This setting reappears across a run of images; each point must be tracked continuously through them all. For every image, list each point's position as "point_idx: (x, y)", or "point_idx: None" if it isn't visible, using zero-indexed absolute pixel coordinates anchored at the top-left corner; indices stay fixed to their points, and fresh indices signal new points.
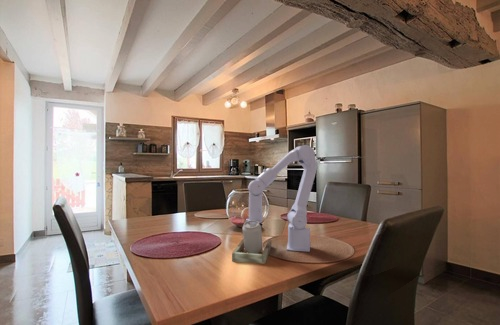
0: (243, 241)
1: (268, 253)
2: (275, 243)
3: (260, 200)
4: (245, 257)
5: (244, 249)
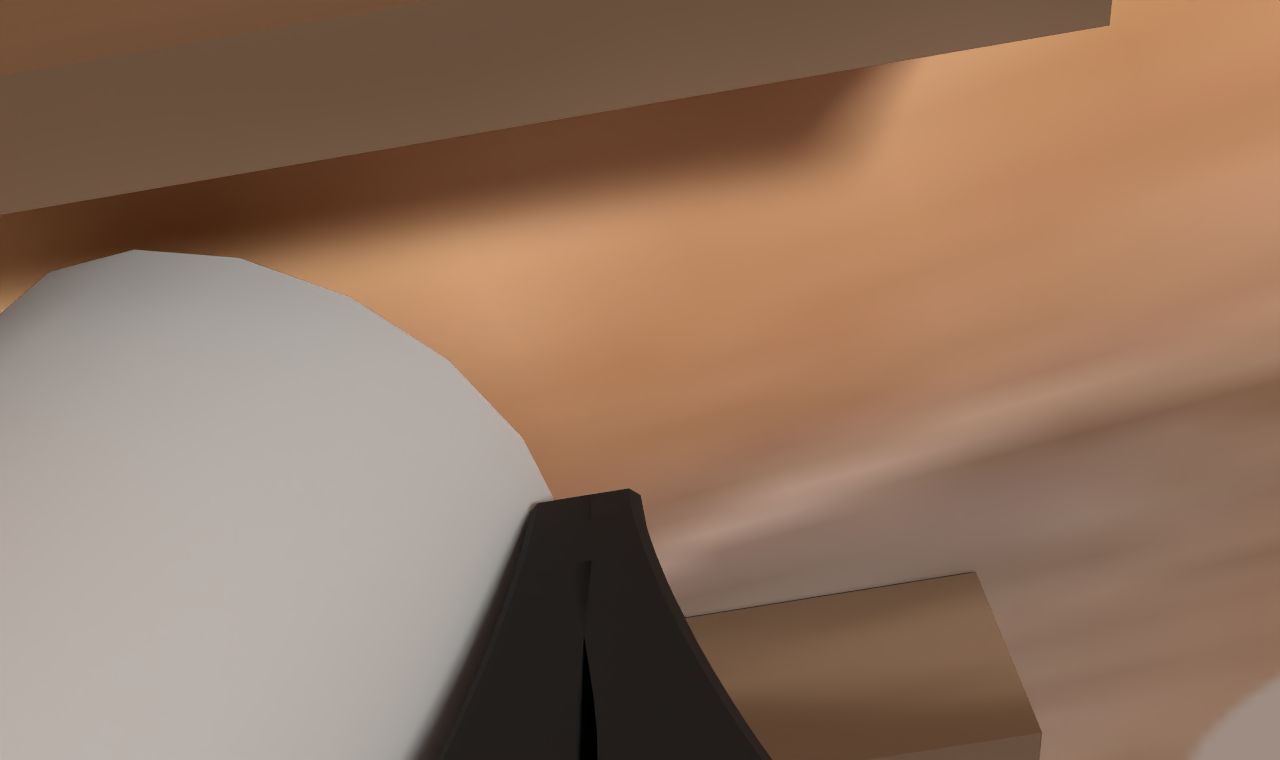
0: (529, 105)
1: None
2: (1267, 624)
3: None
4: None
5: (39, 280)
